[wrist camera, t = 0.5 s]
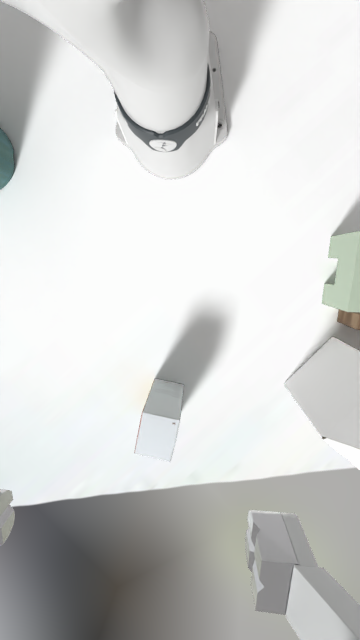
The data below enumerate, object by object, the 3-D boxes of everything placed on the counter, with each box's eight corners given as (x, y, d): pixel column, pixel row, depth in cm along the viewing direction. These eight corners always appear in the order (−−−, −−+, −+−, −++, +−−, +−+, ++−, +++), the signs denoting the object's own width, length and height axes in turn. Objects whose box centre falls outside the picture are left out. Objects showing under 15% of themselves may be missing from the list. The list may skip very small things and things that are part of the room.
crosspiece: (330, 236, 49) (360, 230, 40) (345, 236, 48) (378, 231, 40) (321, 303, 51) (347, 312, 42) (335, 304, 51) (364, 312, 42)
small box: (154, 377, 56) (141, 411, 43) (184, 384, 56) (181, 419, 43) (147, 412, 58) (133, 454, 45) (176, 419, 58) (171, 463, 45)
